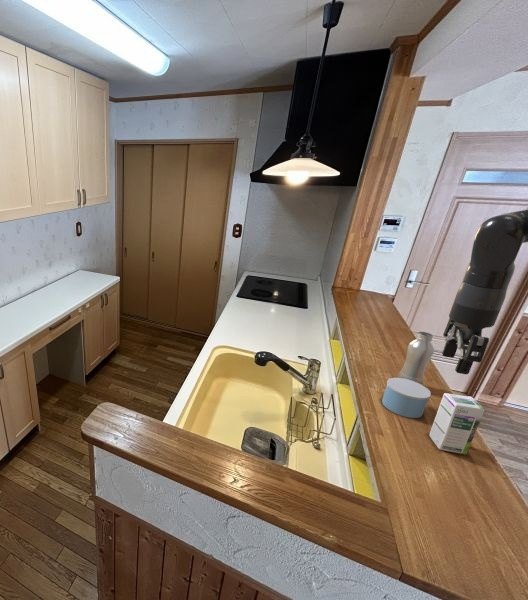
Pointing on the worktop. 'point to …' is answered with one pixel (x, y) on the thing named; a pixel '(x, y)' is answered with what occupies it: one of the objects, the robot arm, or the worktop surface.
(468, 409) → the syrup box
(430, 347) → the silver metal bottle
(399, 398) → the yogurt tub
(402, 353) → the worktop surface
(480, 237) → the robot arm
